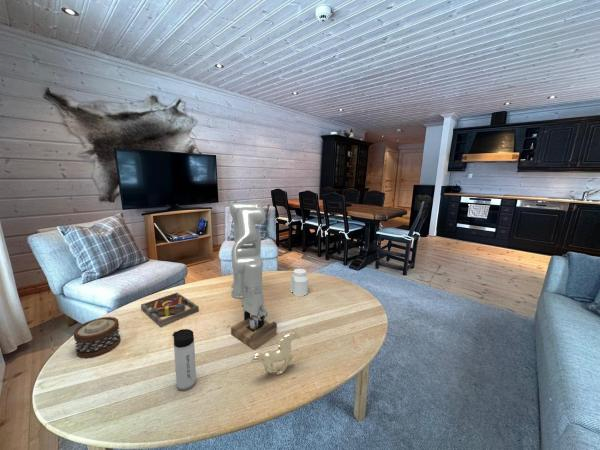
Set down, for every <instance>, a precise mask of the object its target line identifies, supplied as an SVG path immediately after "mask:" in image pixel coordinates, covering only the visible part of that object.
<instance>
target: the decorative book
mask: <svg viewBox="0 0 600 450" xmlns="http://www.w3.org/2000/svg"><path fill="white" fill-rule="evenodd" d="M184 297H185V296H183V297H179V298H178V297H174V298H172V299H166V300H164V299H162V300H160V301H154V303H153V306H152V307H151V308H150V313H155V314H156V315H157V316H158V317H159V318H162V317H170V316H173V315H175V314H178V313H180V312H183V311H185V310H186V309H185V308H186V307H187V305H185V304H184V303H185V302H184V301H185V300H184Z"/></svg>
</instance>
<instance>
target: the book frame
mask: <svg viewBox="0 0 600 450" xmlns="http://www.w3.org/2000/svg"><path fill="white" fill-rule="evenodd" d="M174 297H178V298H179V297H184V300H185V301H184V302H185V303H184V305H185V306H186V307H188V309H184V310H185V311H183V312H180V313H178V314H173V315H169V316H167V317H165V318H163V319H162V318H161V317H158V316H157V315H156V314H155V313H150V310H151V308H152V306H153V303H154V301H160V300H162V299H164V300H166V299H172V298H174ZM199 309H200V308H199V306H198V305H197V304H196V303H194V302H193V301H192V300H190V299H188V298H186V297H185V296H183V295H182V294H180V293H179V292H175V293H172V294H168V295H165V296H162V297H159V298H156V299H154V300H151V301H148V302H143V303H141V304H140V310H141V311H142V312H143V313H145V315H147V316H148V317H149V318H150V320H152V321H153V322H154V323H156V325H158V326H159V327H160V328H163V327H165V326H167V325H169V324H172V323H175V322H177V321H180V320H182V319H183V318H184V319H185V318H186V317H189V316H191V315H193V314H196V313H198V312H200V311H199Z"/></svg>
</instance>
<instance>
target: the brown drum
mask: <svg viewBox="0 0 600 450" xmlns="http://www.w3.org/2000/svg"><path fill="white" fill-rule="evenodd" d="M119 322H120V321H119V319H118V318H117V317H114V316H105V317H98V318H94V319H92V320H89V321H86V322H84V323H82V324H80V325H79V326H77V327H76V328H75V329H74V330H73V337H74V338H73V339H74V342H75V343H74V345H75V350H76V352H75V353H76V356H77V357H78V358H80V359H94V358H96V357H97V358H98V357H100V356H104V355H106V354H107V353H110V352H111V351H113V350H115V349H116V348H117V347H118V346H119V345H120V344H121V342H122V341H121V334H120V333H119V332H120V323H119Z"/></svg>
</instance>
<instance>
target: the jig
mask: <svg viewBox="0 0 600 450" xmlns="http://www.w3.org/2000/svg"><path fill="white" fill-rule="evenodd" d="M251 317H257V318H258V316H254V315H252V314H251V315H250V318H251ZM250 318H249V319H247V320H244V319H243V320H241V321H239V322H238V323H236V324H234V325H232V326H231V327H230V335H231V336H232V337H234V338H236V339H237V340H238V341H240V342H241V343H243V344H244V345H245V346H247V347H249V348H250V349H251V350H256V349H258V348H259V347H261V346H262V345H264V344H265V343H266V342H269V340H271V339H272V338H274V337H276V335H277V334H278V333H277V332H278V331H277V329H278V328H277V327H278V324H277V322H275V321H272V322H271V323H270V322H268V321H267V320H265V319H264V326H262V327H260V328H258V330H256V331H254V332H252V331H251V330H250ZM258 320H259V318H258Z"/></svg>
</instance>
